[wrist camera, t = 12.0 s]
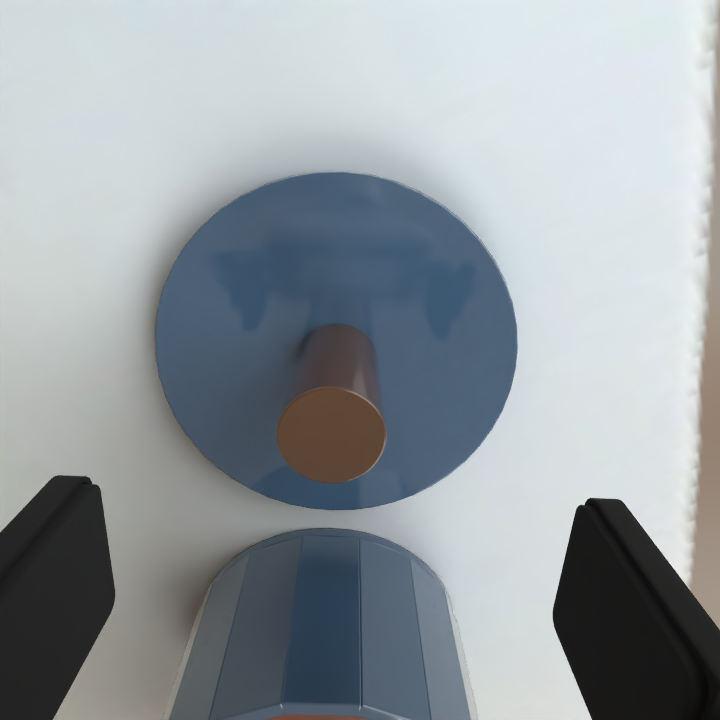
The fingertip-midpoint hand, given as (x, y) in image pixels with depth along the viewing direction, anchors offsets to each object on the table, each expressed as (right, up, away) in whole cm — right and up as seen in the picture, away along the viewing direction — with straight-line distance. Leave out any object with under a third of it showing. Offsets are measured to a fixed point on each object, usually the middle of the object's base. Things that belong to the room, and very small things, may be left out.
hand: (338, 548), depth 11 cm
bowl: (-1, -9, +14) cm, 16 cm away
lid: (0, +4, +8) cm, 9 cm away
